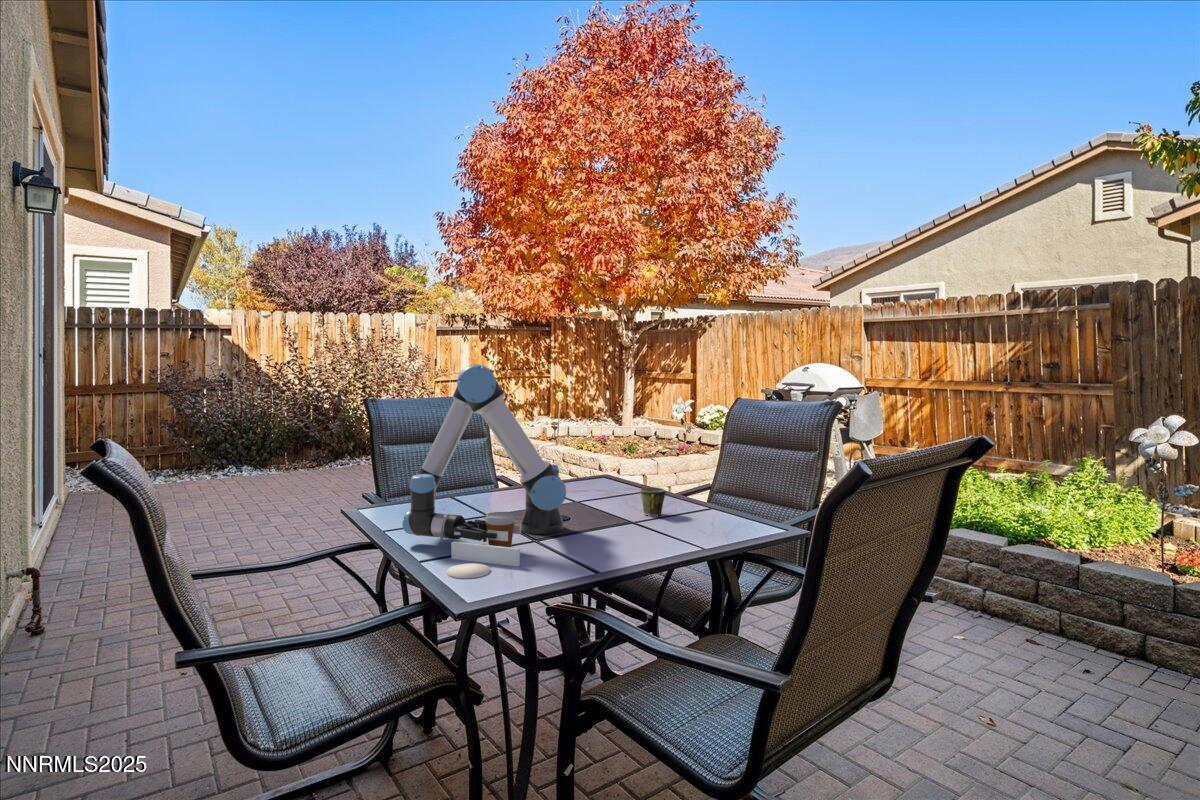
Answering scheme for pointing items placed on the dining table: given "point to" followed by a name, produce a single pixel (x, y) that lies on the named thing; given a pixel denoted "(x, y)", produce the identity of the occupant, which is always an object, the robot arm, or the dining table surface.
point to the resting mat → (468, 571)
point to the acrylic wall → (485, 553)
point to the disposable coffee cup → (500, 526)
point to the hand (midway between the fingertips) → (514, 532)
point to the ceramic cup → (652, 500)
